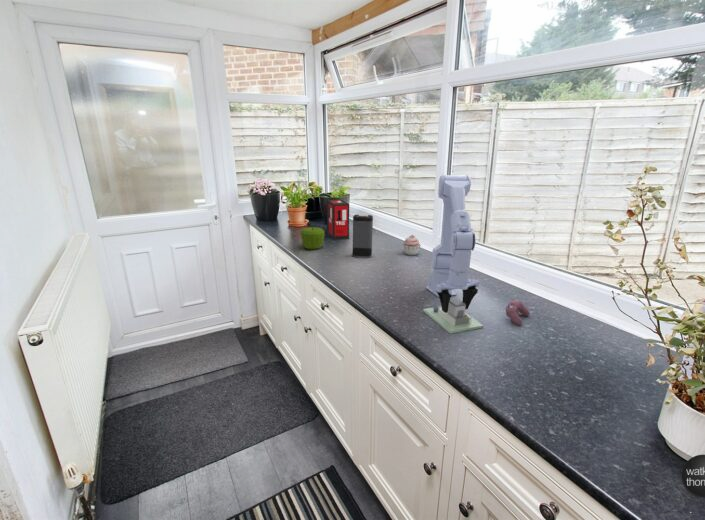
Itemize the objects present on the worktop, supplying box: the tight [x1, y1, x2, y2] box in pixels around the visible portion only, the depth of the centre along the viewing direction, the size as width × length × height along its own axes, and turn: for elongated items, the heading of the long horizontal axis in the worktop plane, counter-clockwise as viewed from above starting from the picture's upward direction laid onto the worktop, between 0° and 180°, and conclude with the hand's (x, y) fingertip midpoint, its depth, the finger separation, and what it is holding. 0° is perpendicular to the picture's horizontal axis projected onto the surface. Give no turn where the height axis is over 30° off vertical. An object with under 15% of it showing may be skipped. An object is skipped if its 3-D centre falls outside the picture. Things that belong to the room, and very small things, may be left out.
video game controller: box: [505, 299, 531, 326], centre depth 122 cm, size 10×5×7 cm, turn 141°
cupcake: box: [402, 234, 422, 256], centre depth 187 cm, size 9×9×10 cm
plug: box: [447, 297, 466, 318], centre depth 118 cm, size 6×4×6 cm, turn 19°
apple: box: [300, 226, 326, 251], centre depth 194 cm, size 12×12×11 cm
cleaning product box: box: [326, 199, 350, 241], centre depth 218 cm, size 16×9×20 cm, turn 17°
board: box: [423, 305, 484, 335], centre depth 121 cm, size 16×12×3 cm
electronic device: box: [352, 214, 374, 259], centre depth 181 cm, size 9×6×20 cm, turn 84°
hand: (454, 309), depth 119 cm, fingers open, 7 cm apart
